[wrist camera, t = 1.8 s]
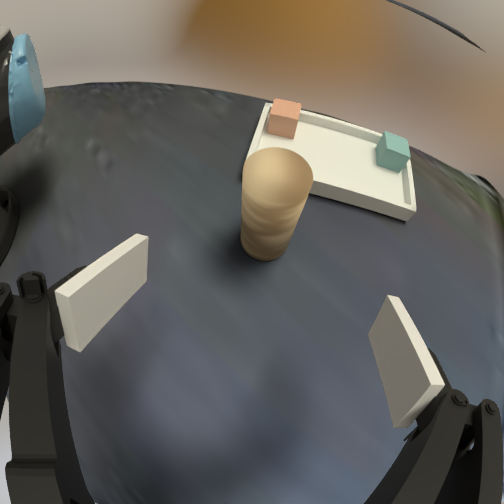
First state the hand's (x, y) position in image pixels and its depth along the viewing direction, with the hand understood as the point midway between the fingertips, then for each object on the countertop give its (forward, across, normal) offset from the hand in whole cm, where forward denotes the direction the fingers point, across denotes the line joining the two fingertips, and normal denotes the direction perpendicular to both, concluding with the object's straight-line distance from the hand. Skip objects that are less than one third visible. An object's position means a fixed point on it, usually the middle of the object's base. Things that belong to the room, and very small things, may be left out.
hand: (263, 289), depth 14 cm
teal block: (+26, +13, +9) cm, 30 cm away
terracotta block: (+26, -2, +10) cm, 27 cm away
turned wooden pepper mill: (+15, -1, -3) cm, 15 cm away
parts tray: (+24, +6, +7) cm, 26 cm away
